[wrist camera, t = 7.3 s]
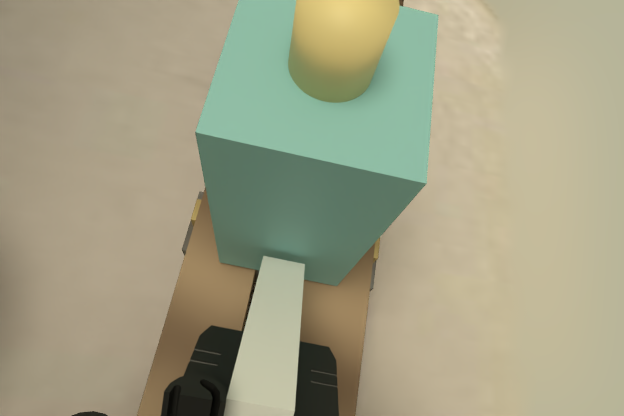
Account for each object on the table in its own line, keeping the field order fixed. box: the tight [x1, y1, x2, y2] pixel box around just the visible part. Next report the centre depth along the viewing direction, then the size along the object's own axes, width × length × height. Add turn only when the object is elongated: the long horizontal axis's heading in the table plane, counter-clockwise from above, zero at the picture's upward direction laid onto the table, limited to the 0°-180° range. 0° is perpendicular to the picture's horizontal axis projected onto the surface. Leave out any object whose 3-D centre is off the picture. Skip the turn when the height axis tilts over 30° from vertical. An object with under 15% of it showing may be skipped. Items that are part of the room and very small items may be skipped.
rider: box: [195, 0, 438, 286], centre depth 15 cm, size 5×5×13 cm
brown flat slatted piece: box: [137, 0, 404, 416], centre depth 22 cm, size 32×9×5 cm, turn 170°
